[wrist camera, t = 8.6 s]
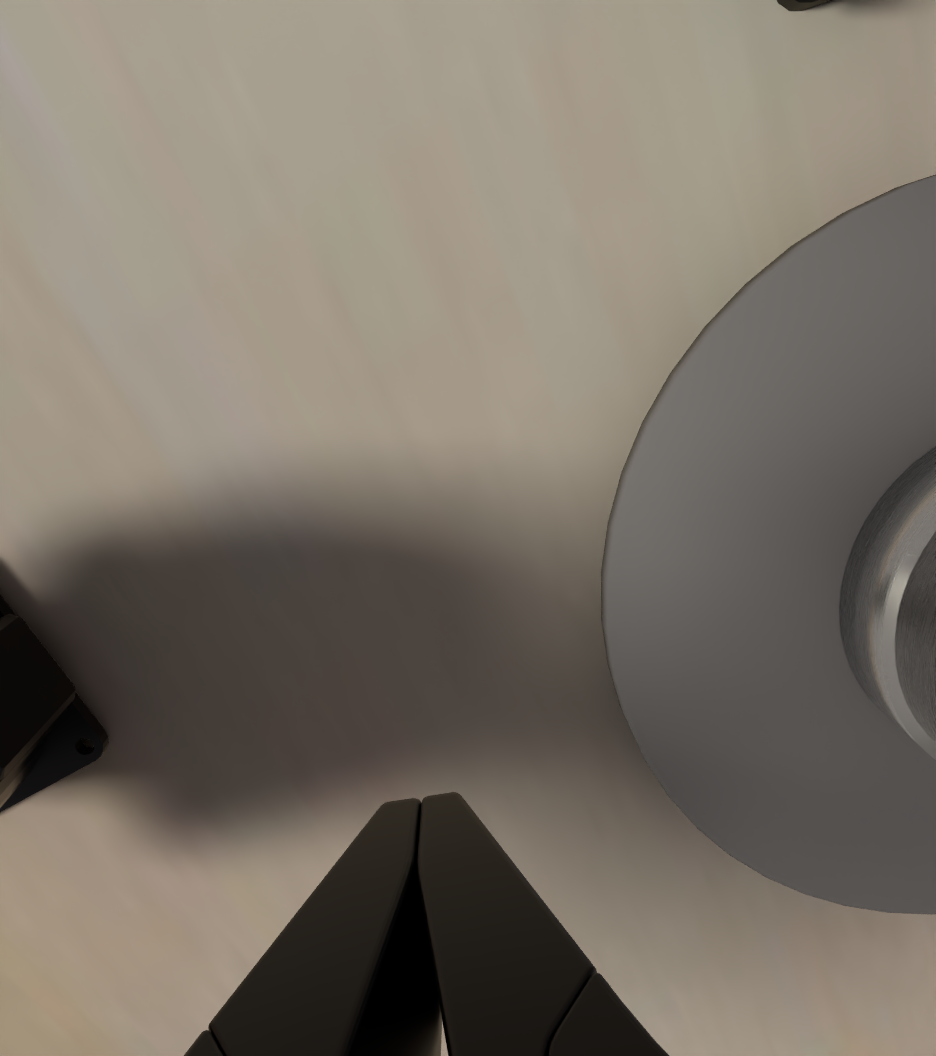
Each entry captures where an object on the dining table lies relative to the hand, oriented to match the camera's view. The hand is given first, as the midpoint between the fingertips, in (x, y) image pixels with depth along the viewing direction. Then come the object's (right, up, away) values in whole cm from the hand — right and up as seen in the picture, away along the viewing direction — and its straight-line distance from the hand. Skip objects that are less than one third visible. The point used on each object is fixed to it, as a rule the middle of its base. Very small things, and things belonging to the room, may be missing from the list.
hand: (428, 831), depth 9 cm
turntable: (+14, +2, +12) cm, 19 cm away
